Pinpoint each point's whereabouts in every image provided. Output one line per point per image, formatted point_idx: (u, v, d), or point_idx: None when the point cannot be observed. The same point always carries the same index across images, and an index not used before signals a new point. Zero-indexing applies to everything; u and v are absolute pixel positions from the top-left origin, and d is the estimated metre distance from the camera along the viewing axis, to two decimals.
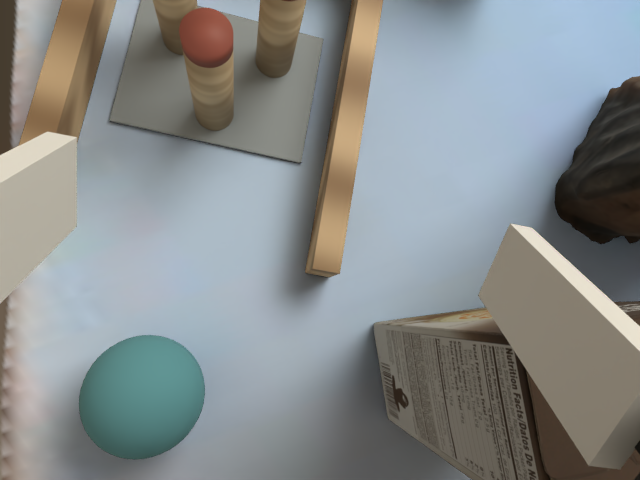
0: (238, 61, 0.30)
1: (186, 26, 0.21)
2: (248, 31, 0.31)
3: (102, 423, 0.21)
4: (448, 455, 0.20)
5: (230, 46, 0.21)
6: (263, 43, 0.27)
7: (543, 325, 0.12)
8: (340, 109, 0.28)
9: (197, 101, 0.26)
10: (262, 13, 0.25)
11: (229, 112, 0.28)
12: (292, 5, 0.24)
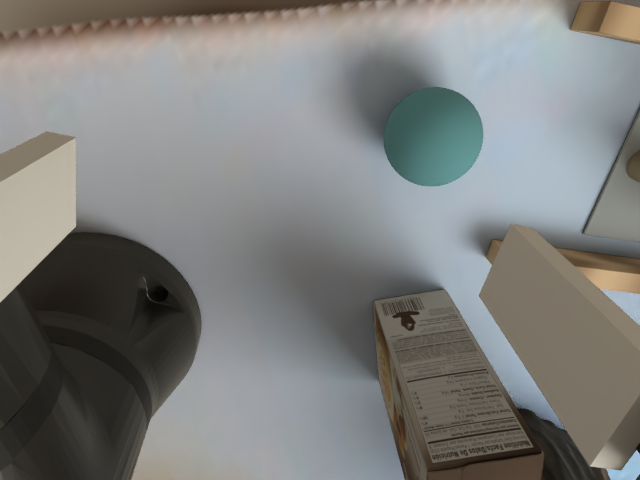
0: None
1: None
2: None
3: (434, 125, 0.26)
4: (403, 373, 0.30)
5: None
6: None
7: (543, 325, 0.12)
8: (631, 274, 0.35)
9: None
10: None
11: None
12: None
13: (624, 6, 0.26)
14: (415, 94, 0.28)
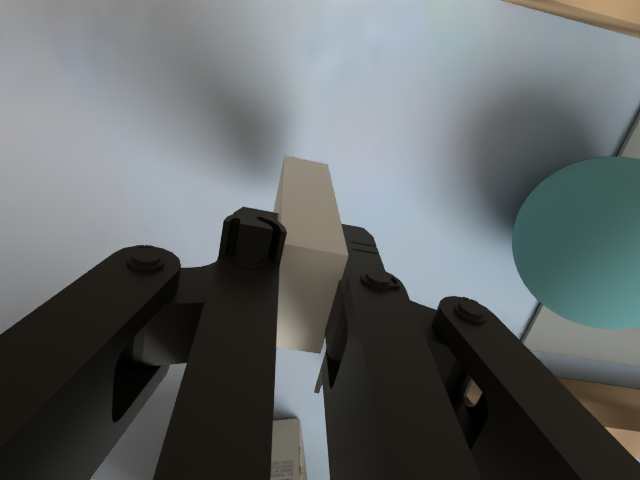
0: None
1: None
2: None
3: None
4: None
5: None
6: None
7: None
8: None
9: None
10: None
11: None
12: None
13: None
14: None
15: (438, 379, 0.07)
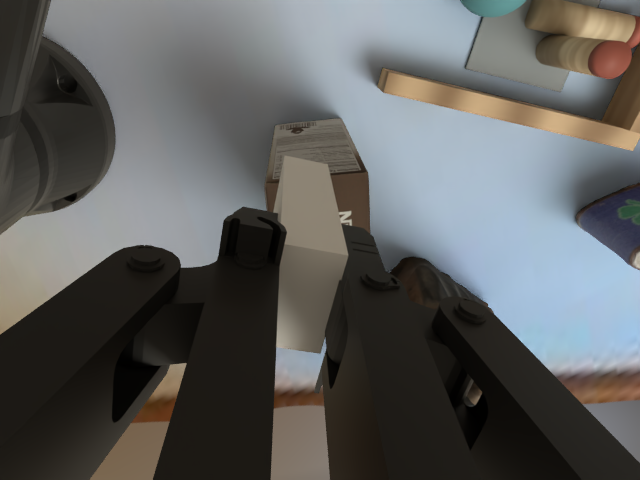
0: None
1: None
2: None
3: None
4: (276, 149, 0.33)
5: None
6: (563, 40, 0.36)
7: None
8: (502, 100, 0.38)
9: (582, 22, 0.37)
10: (584, 39, 0.34)
11: (549, 32, 0.38)
12: (584, 63, 0.33)
13: None
14: None
15: (438, 379, 0.07)
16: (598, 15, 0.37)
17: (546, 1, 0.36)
